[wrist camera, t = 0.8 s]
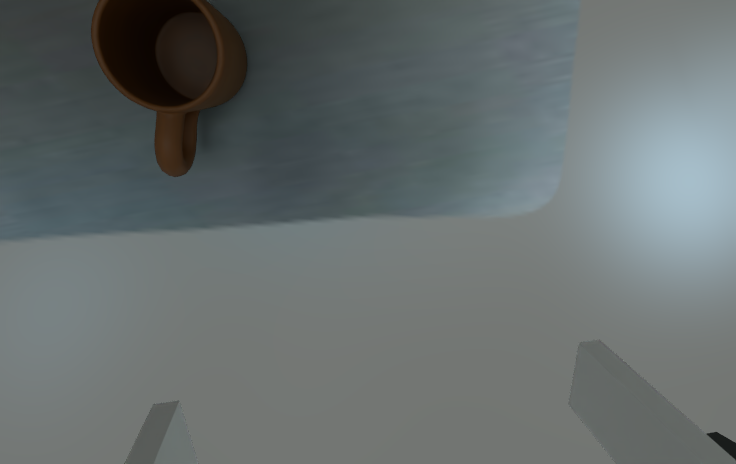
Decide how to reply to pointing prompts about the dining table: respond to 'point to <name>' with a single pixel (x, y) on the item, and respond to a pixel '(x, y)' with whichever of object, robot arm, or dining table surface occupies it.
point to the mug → (170, 65)
